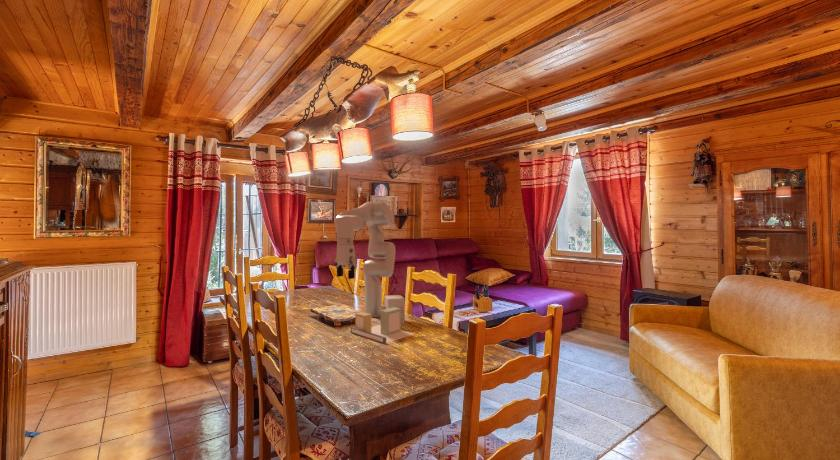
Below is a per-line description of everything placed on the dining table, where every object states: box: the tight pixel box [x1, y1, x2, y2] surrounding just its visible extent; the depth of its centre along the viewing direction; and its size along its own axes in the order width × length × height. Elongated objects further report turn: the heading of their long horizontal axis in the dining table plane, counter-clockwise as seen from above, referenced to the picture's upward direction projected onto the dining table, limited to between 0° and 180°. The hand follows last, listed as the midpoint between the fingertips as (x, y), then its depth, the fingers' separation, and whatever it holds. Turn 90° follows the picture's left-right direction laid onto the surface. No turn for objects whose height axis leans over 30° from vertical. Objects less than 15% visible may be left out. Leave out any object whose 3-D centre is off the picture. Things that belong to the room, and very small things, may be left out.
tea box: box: [380, 307, 402, 335], centre depth 188 cm, size 5×9×11 cm, turn 137°
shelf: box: [350, 323, 415, 345], centre depth 187 cm, size 19×24×4 cm
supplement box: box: [383, 294, 406, 325], centre depth 205 cm, size 9×9×15 cm
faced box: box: [354, 311, 372, 333], centre depth 188 cm, size 4×7×9 cm, turn 47°
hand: (345, 277), depth 190 cm, fingers open, 9 cm apart
